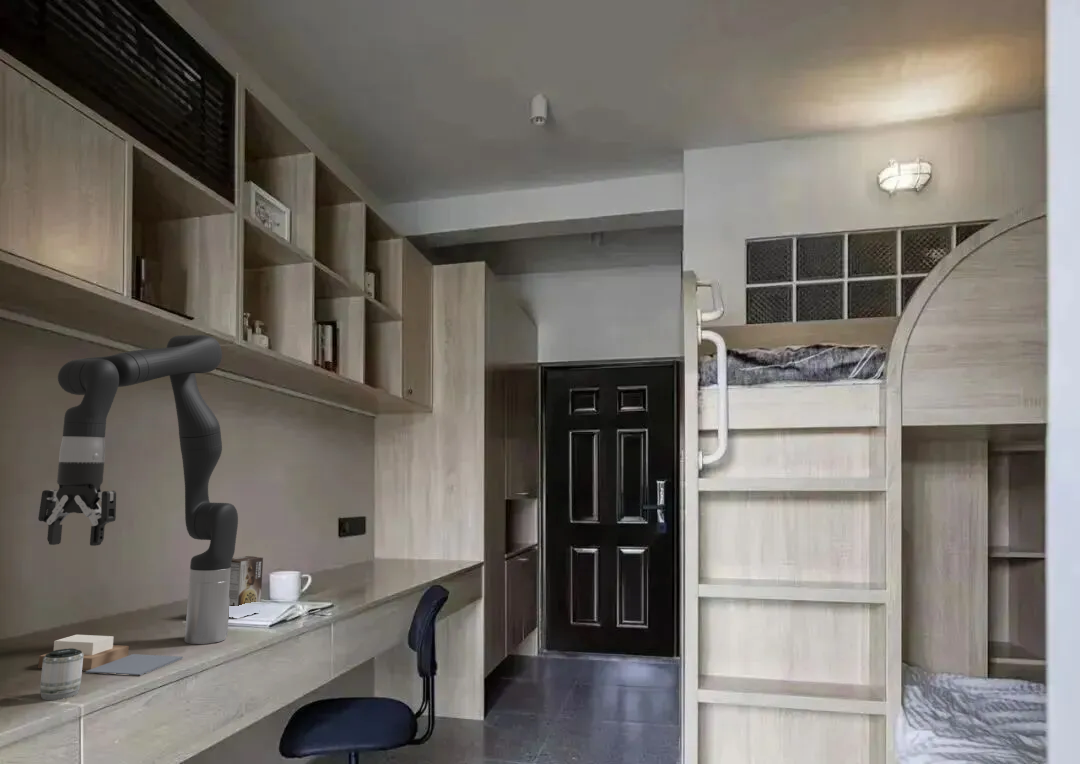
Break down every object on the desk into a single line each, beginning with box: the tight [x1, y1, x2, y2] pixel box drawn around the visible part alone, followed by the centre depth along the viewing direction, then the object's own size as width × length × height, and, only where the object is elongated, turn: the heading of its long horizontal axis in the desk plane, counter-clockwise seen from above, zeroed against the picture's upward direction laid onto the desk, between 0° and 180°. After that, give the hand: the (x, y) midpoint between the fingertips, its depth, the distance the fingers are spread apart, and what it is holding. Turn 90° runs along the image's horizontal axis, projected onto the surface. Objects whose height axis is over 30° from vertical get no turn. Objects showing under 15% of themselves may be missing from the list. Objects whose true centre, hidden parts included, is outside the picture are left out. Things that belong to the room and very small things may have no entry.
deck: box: [37, 644, 130, 670], centre depth 152 cm, size 11×12×2 cm
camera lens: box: [39, 648, 84, 701], centre depth 130 cm, size 6×6×8 cm
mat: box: [84, 653, 184, 676], centre depth 150 cm, size 14×12×1 cm
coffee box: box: [229, 555, 264, 606], centre depth 205 cm, size 9×6×16 cm
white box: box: [53, 634, 115, 655], centre depth 152 cm, size 6×9×2 cm, turn 83°
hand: (74, 544), depth 136 cm, fingers open, 8 cm apart
